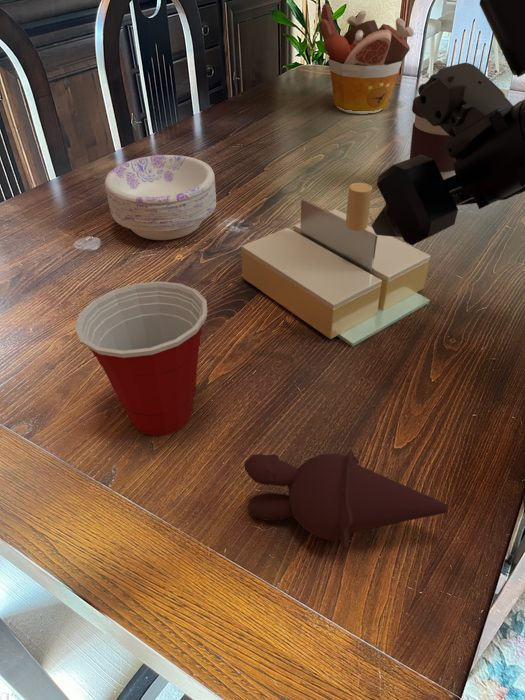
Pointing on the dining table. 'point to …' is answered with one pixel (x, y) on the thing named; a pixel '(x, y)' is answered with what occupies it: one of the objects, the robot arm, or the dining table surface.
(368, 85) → the bucket of meat
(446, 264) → the dining table surface
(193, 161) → the paper bowls
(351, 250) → the slicer
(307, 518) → the icecream
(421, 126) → the coffee cup
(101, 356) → the plastic cup
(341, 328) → the slotted wooden block
